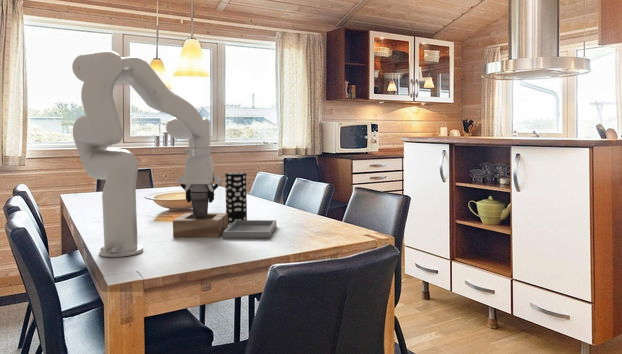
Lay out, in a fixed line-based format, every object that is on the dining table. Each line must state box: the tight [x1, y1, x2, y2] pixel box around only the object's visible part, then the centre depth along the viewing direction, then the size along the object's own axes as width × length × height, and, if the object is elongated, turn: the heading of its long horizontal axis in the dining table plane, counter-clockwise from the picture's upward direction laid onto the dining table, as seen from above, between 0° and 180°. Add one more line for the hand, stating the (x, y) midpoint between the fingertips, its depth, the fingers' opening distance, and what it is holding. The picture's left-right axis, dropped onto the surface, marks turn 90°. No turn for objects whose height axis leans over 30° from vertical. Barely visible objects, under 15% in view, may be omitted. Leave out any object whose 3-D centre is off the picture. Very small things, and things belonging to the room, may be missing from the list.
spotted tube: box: [224, 172, 248, 226], centre depth 200 cm, size 8×8×20 cm
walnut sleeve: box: [172, 212, 229, 239], centre depth 181 cm, size 16×16×6 cm
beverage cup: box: [190, 185, 210, 219], centre depth 179 cm, size 7×7×20 cm
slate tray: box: [222, 219, 277, 240], centre depth 181 cm, size 22×16×2 cm
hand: (200, 201), depth 179 cm, fingers closed on beverage cup, 7 cm apart
